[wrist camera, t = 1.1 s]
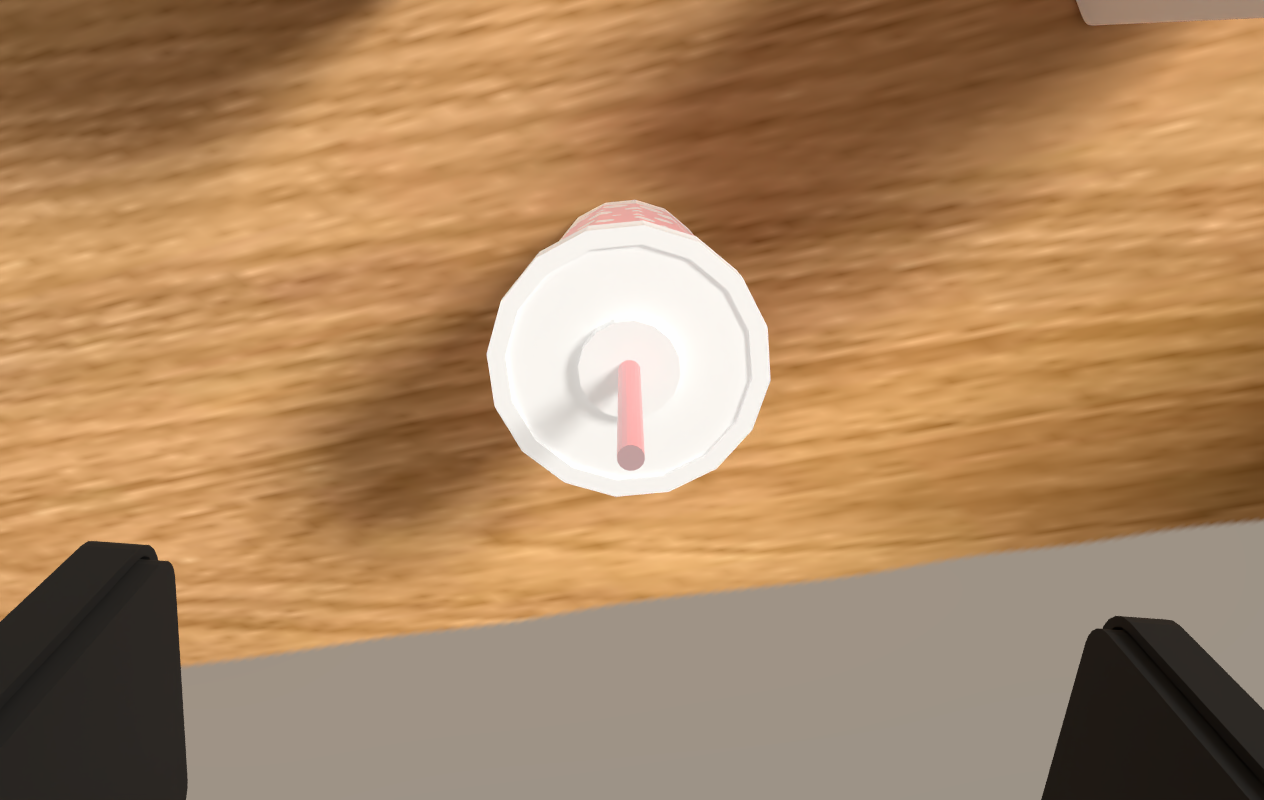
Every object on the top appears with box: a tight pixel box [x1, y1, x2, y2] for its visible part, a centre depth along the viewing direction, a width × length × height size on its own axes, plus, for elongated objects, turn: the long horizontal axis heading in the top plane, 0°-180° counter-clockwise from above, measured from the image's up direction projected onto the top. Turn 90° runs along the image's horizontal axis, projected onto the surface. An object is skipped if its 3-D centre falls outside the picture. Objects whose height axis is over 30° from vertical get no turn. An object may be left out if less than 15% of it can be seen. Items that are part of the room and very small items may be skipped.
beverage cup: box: [487, 200, 770, 497], centre depth 23 cm, size 6×6×14 cm
